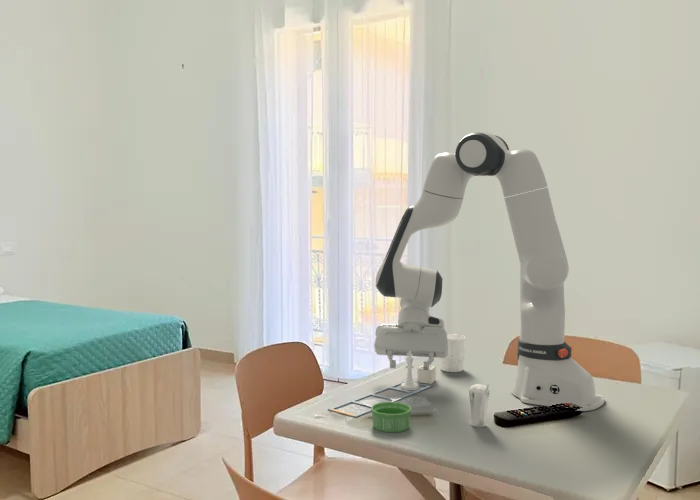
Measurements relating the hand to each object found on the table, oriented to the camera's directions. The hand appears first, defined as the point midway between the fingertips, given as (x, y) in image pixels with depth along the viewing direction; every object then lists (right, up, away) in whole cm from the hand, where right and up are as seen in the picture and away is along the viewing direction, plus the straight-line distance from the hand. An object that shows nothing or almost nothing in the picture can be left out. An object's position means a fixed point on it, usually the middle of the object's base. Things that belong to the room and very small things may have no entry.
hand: (409, 368), depth 175 cm
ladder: (-7, -6, -8) cm, 13 cm away
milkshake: (+13, -8, -29) cm, 33 cm away
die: (+6, -5, +8) cm, 11 cm away
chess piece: (0, -6, +1) cm, 6 cm away
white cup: (+15, -4, +20) cm, 25 cm away
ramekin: (-7, -8, -29) cm, 31 cm away
